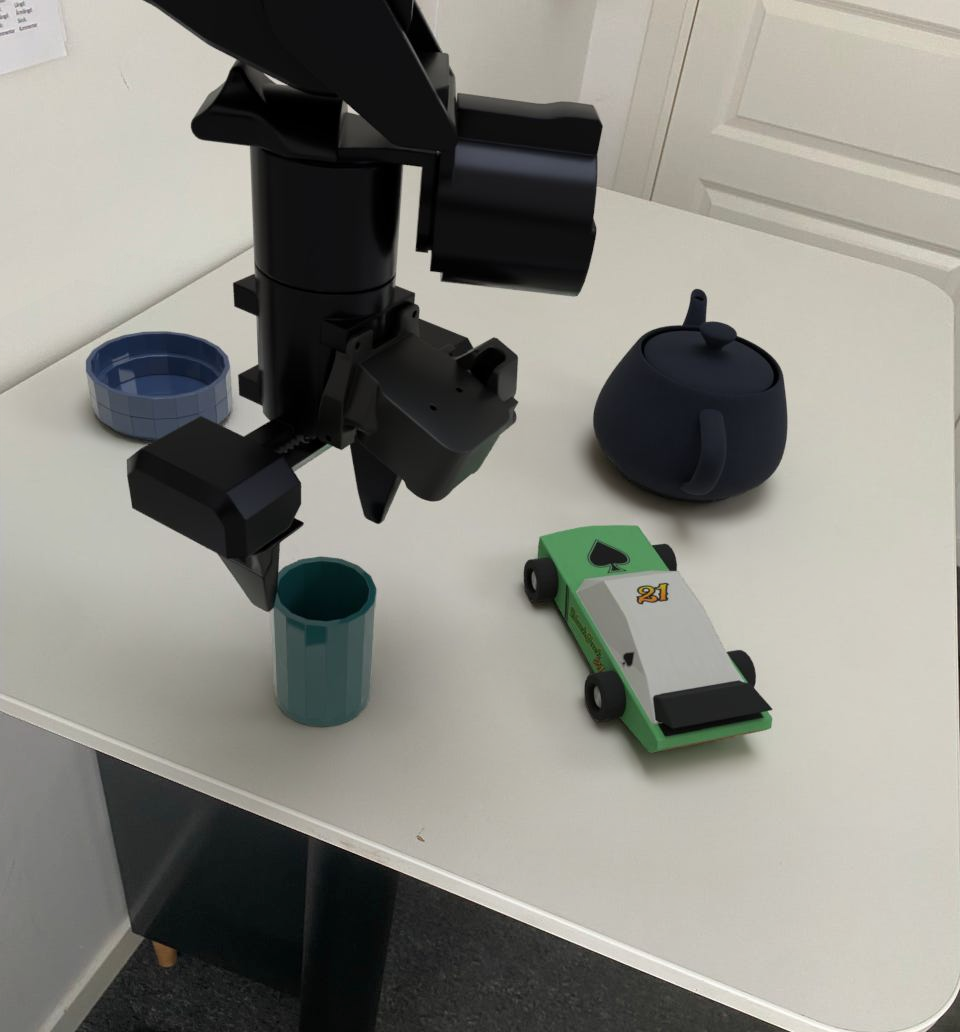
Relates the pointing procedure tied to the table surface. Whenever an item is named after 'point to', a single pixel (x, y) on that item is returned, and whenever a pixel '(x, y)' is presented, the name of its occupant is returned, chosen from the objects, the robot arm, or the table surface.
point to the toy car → (645, 639)
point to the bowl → (158, 382)
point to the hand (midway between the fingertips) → (321, 560)
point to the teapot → (694, 411)
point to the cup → (323, 640)
